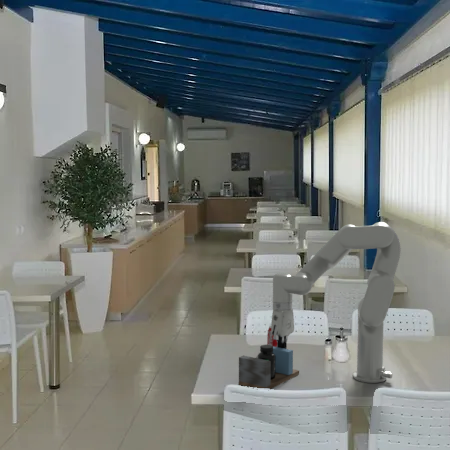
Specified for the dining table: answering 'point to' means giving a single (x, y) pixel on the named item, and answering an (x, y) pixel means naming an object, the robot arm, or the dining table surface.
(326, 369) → the dining table surface
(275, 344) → the soda can
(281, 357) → the block
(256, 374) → the vise
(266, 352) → the supplement bottle
